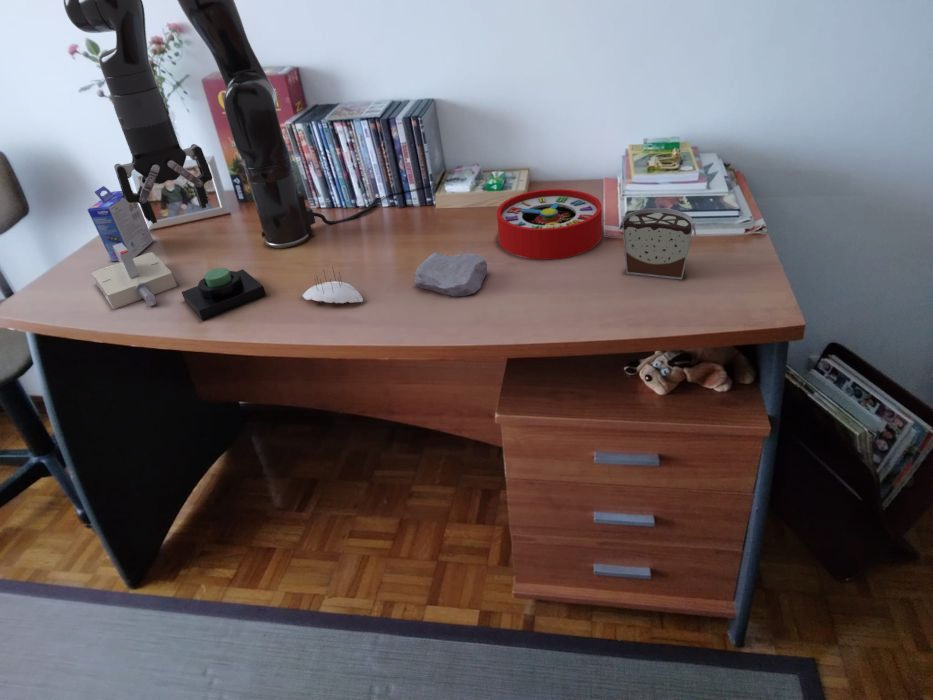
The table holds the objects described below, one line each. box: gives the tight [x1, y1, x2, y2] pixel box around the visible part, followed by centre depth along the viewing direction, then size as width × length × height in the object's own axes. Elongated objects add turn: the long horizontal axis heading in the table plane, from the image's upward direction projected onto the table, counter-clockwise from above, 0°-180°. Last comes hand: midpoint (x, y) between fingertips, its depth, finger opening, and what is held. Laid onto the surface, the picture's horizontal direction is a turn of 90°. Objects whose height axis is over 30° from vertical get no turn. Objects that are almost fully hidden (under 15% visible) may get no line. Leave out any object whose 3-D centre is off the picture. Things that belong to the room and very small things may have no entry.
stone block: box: [414, 252, 488, 298], centre depth 119 cm, size 12×5×10 cm
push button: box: [203, 267, 232, 287], centre depth 122 cm, size 4×4×2 cm
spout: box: [135, 282, 157, 307], centre depth 125 cm, size 3×5×3 cm, turn 37°
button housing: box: [181, 268, 267, 322], centre depth 123 cm, size 12×10×4 cm
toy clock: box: [496, 188, 603, 260], centre depth 131 cm, size 20×6×20 cm
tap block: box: [91, 251, 178, 310], centre depth 132 cm, size 12×14×3 cm
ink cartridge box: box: [87, 185, 154, 262], centre depth 144 cm, size 10×6×14 cm, turn 174°
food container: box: [618, 207, 697, 280], centre depth 114 cm, size 12×6×10 cm, turn 65°
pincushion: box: [301, 266, 364, 305], centre depth 118 cm, size 12×6×6 cm, turn 70°
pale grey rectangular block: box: [113, 243, 140, 279], centre depth 130 cm, size 6×2×5 cm, turn 37°
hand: (178, 214), depth 117 cm, fingers open, 8 cm apart
